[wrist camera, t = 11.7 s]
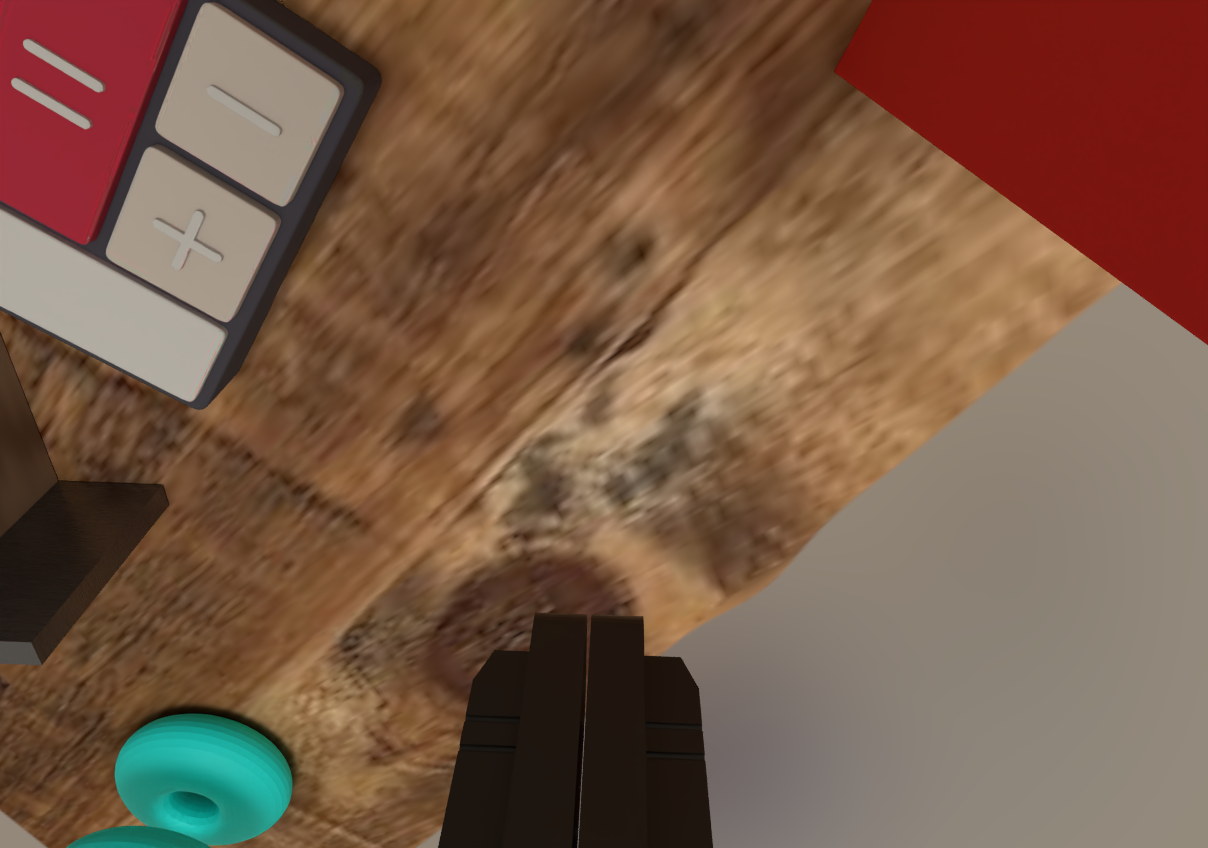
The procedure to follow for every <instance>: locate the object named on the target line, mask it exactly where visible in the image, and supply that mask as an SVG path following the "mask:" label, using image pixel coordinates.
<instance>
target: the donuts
mask: <svg viewBox="0 0 1208 848" xmlns="http://www.w3.org/2000/svg"><path fill="white" fill-rule="evenodd" d="M115 781H116V786H117V790H118V793H119V795H120V797H121V799H122V800H123V802H124V804H125V805H126V807H127V808H128V809H129V811H130V812H131V813H132V814H133V815H134V816H135V817H136V818H138V819H139V820H140V821H141V822H143V823H144V824H145V825H147V826H148V827H147V826H121V827H114V828H109V829H105V830H101V831H97V832H94V833H91V834H89V835H86V836H84V837H82V838H80V839H78V840H76V841H75V842H73V843H72V844H70V845H69V846H68V847H66V848H211V847H209V846H208V845H228V844H234V843H238V842H242V841H245V840H248V839H251V838H254V837H256V836H258V835H260V834H261V833H263V832H265V831H266V830H268V829H269V828H270V827H272V826H273V825H274V824H275V823H276V822H277V821H278V820H279V819H280V818H281V816H282V815H283V813H284V812H285V810H286V809H287V807H288V804H289V801H290V799H291V795H292V787H293V782H292V775H291V771H290V768H289V765H288V763H287V761H286V759H285V758H284V756H283V755H282V753H281V752H280V751H279V750H278V748H277V747H276V746H275V745H274V744H273V743H272V742H271V741H270V740H268V739H267V738H266V737H265V736H263V735H262V734H260V733H259V732H257V731H256V730H254V729H252V728H250V727H248V726H246V725H244V724H242V723H239V722H236V721H234V720H230V719H227V718H223V717H219V716H215V715H208V714H193V713H190V714H178V715H172V716H167V717H163V718H160V719H157V720H155V721H152V722H150V723H148V724H147V725H145V726H143V727H142V728H140V729H139V730H137V731H136V732H135V733H134V734H133V735H132V736H131V737H130V738H129V739H128V740H127V741H126V743H125V744H124V746H123V747H122V749H121V751H120V753H119V755H118V758H117V761H116V766H115Z"/></svg>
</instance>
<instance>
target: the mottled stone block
mask: <svg viewBox="0 0 1208 848" xmlns="http://www.w3.org/2000/svg"><path fill="white" fill-rule="evenodd" d="M57 482H58V479H57V477H56V474H55V472H54V469H53V467H52V464H51V461H50V459H49V456H48V454H47V451H46V449H45V446H44V444H43V441H42V439H41V436H40V434H39V431H38V428H37V426H36V423H35V421H34V418H33V416H32V413H31V411H30V408H29V406H28V403H27V401H26V398H25V395H24V393H23V390H22V388H21V385H20V383H19V380H18V378H17V375H16V373H15V370H14V368H13V365H12V362H11V360H10V357H9V355H8V352H7V350H6V347H5V345H4V342H3V340H2V337H1V335H0V537H1V536H2V535H3V534H4V533H5V532H6V531H7V530H8V529H9V528H10V527H11V526H12V525H13V524H14V523H15V522H16V521H18V520H19V519H20V518H21V517H22V516H23V515H24V514H25V513H26V512H27V511H28V510H29V509H30V508H31V507H32V506H33V505H34V504H35V503H36V502H37V501H38V500H39V499H40V498H41V497H42V496H43V495H44V494H45V493H46V492H47V491H48V490H49V489H50V488H51V487H52V486H53V485H54V484H56V483H57Z"/></svg>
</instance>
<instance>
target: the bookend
mask: <svg viewBox="0 0 1208 848" xmlns="http://www.w3.org/2000/svg"><path fill="white" fill-rule="evenodd" d="M168 506H169V504H168V500H167V497H166V494H165V491H164V488H163V485H153V484H126V483H100V482H73V481H58V482H57V483H56V484H54V485H53V486H52V487H51V488H50V489H49V490H48V491H47V492H46V493H45V494H44V495H43V496H42V497H41V498H40V499H39V500H38V501H37V502H36V503H35V504H34V505H33V506H32V507H31V508H30V509H29V510H28V511H27V512H26V513H25V514H24V515H23V516H22V517H21V518H20V519H19V520H18V521H16V522H15V523H14V524H13V525H12V526H11V527H10V528H9V529H8V530H7V531H6V532H5V533H4V534H3V535H2V536H1V537H0V663H2V664H27V665H42V664H43V663H44V662H45V661H46V659H47V658H48V657H49V656H50V654H51V653H52V652H53V651H54V649H55V648H56V647H57V645H58V644H59V643H60V642H61V640H62V639H63V638H64V637H65V635H66V634H67V633H68V632H69V630H70V629H71V628H72V627H73V625H74V624H75V623H76V622H77V620H78V619H79V618H80V617H81V615H82V614H83V613H84V611H85V610H86V609H87V608H88V606H89V605H90V604H91V603H92V601H93V600H94V599H95V598H96V596H97V595H98V594H99V593H100V591H101V590H102V589H103V588H104V586H105V585H106V584H107V583H108V581H109V580H110V579H111V577H112V576H113V575H114V574H115V572H116V571H117V570H118V569H119V567H120V566H121V565H122V564H123V562H124V561H125V560H126V559H127V557H128V556H129V555H130V554H131V552H132V551H133V550H134V549H135V547H136V546H137V545H138V543H139V542H140V541H141V540H142V538H143V537H144V536H145V535H146V533H147V532H148V531H149V530H150V528H151V527H152V526H153V525H154V523H155V522H156V521H157V520H158V518H159V517H160V516H161V515H162V513H163V512H164V511H165V509H166V508H167V507H168Z"/></svg>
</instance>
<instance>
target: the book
mask: <svg viewBox="0 0 1208 848" xmlns="http://www.w3.org/2000/svg"><path fill="white" fill-rule="evenodd" d="M834 72H835V73H836V74H838V75H839V76H840V77H842V78H843V79H844V80H846V81H847V82H848V83H850V84H851V85H853V86H854V87H855V88H857V89H858V90H859V91H861V92H862V93H864V94H865V95H866V96H868V97H869V98H870V99H872V100H873V101H875V102H876V103H877V104H879V105H880V106H881V107H883V108H884V109H885V110H887V111H888V112H890V113H891V114H892V115H894V116H895V117H896V118H898V119H899V120H901V121H902V122H903V123H905V124H906V125H907V126H909V127H910V128H911V129H913V130H914V131H916V132H917V133H918V134H920V135H921V136H922V137H924V138H925V139H927V140H928V141H929V142H931V143H932V144H933V145H935V146H936V147H937V148H939V149H940V150H942V151H943V152H944V153H946V154H947V155H948V156H950V157H951V158H953V159H954V160H955V161H957V162H958V163H959V164H961V165H962V166H963V167H965V168H966V169H968V170H969V171H970V172H972V173H973V174H974V175H976V176H977V177H979V178H980V179H981V180H983V181H984V182H985V183H987V184H988V185H989V186H991V187H992V188H994V189H995V190H996V191H998V192H999V193H1000V194H1002V195H1003V196H1005V197H1006V198H1007V199H1009V200H1010V201H1011V202H1013V203H1014V204H1015V205H1017V206H1018V207H1020V208H1021V209H1022V210H1024V211H1025V212H1026V213H1028V214H1029V215H1031V216H1032V217H1033V218H1035V219H1036V220H1037V221H1039V222H1040V223H1041V224H1043V225H1044V226H1046V227H1047V228H1048V229H1050V230H1051V231H1052V232H1054V233H1055V234H1057V235H1058V236H1059V237H1061V238H1062V239H1063V240H1065V241H1066V242H1067V243H1069V244H1070V245H1072V246H1073V247H1074V248H1076V249H1077V250H1078V251H1080V252H1081V253H1083V254H1084V255H1085V256H1087V257H1088V258H1089V259H1091V260H1092V261H1093V262H1095V263H1096V264H1098V265H1099V266H1100V267H1102V268H1103V269H1104V270H1106V271H1107V272H1109V273H1110V274H1111V275H1113V276H1114V277H1115V278H1117V279H1118V280H1119V281H1121V282H1122V283H1124V284H1125V285H1126V286H1128V287H1129V288H1131V289H1132V290H1133V291H1135V292H1136V293H1137V294H1139V295H1140V296H1141V297H1143V298H1144V299H1145V300H1147V301H1148V302H1150V303H1151V304H1152V305H1154V306H1155V307H1156V308H1158V309H1159V310H1161V311H1162V312H1163V313H1165V314H1166V315H1167V316H1169V317H1170V318H1171V319H1173V320H1174V321H1176V322H1177V323H1178V324H1180V325H1181V326H1182V327H1184V328H1185V329H1187V330H1188V331H1189V332H1191V333H1192V334H1193V335H1195V336H1196V337H1198V338H1199V339H1200V340H1202V341H1203V342H1204V343H1206V344H1207V345H1208V0H873V1H872V3H871V4H870V6H869V8H868V10H867V12H866V14H865V16H864V17H863V19H862V21H861V23H860V25H859V27H858V29H857V30H856V32H855V34H854V36H853V38H852V40H851V41H850V43H849V45H848V47H847V49H846V51H845V53H844V54H843V56H842V58H841V60H840V62H839V64H838V65H837V67H836V69H835V71H834Z"/></svg>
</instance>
